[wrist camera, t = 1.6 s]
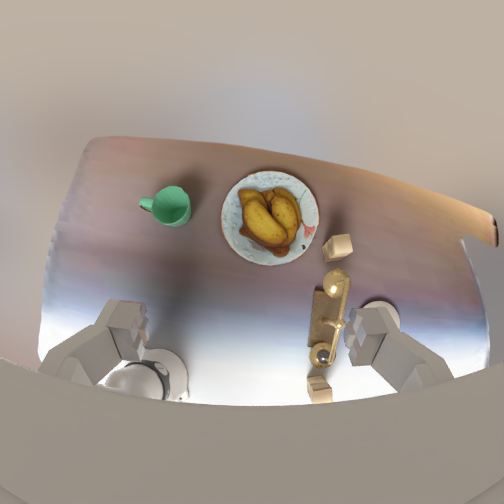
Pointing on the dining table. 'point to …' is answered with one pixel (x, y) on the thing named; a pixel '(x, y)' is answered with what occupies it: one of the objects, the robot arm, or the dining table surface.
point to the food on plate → (269, 217)
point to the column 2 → (337, 247)
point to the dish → (388, 306)
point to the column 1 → (319, 390)
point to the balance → (328, 317)
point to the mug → (169, 206)
